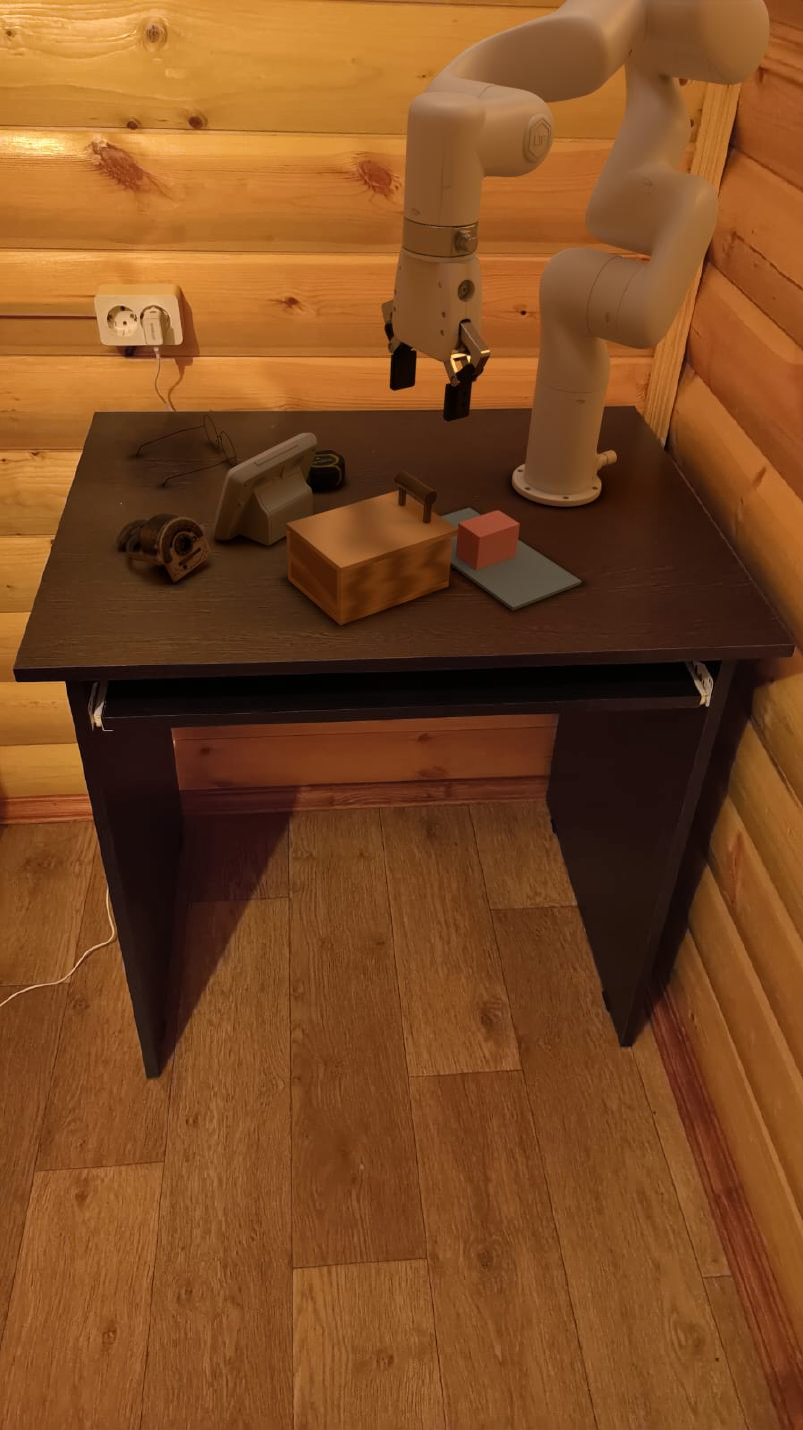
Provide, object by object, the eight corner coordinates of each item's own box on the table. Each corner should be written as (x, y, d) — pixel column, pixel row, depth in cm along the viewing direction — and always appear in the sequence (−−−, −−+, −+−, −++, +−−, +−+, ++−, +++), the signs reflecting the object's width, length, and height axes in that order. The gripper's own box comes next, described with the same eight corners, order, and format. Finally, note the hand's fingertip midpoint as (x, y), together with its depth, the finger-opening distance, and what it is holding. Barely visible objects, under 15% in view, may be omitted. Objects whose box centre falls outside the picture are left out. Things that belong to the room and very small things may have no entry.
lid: (400, 495, 127) (402, 457, 123) (458, 535, 120) (461, 496, 116) (286, 529, 119) (284, 489, 116) (340, 573, 112) (340, 533, 109)
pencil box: (393, 545, 131) (395, 496, 126) (448, 586, 123) (452, 537, 119) (287, 579, 123) (286, 529, 119) (340, 625, 116) (340, 574, 112)
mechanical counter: (127, 555, 116) (209, 522, 118) (96, 497, 123) (173, 466, 126) (146, 601, 121) (224, 569, 123) (115, 542, 129) (189, 513, 131)
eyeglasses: (164, 490, 139) (160, 455, 136) (133, 453, 148) (129, 420, 144) (240, 474, 144) (238, 440, 141) (206, 439, 152) (204, 407, 149)
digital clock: (296, 493, 140) (294, 419, 133) (339, 518, 135) (339, 443, 129) (197, 530, 131) (189, 453, 125) (239, 559, 126) (233, 480, 120)
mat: (469, 510, 139) (469, 507, 138) (581, 584, 125) (581, 580, 125) (403, 531, 133) (403, 528, 133) (512, 610, 120) (513, 607, 120)
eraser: (494, 541, 131) (498, 509, 128) (515, 556, 129) (520, 523, 126) (455, 555, 128) (458, 522, 125) (476, 570, 126) (479, 537, 123)
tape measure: (334, 468, 147) (334, 444, 144) (352, 489, 142) (352, 464, 140) (289, 475, 144) (288, 450, 142) (305, 497, 140) (305, 471, 137)
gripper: (524, 254, 99) (505, 423, 110) (417, 213, 109) (408, 371, 120) (465, 264, 95) (450, 438, 106) (359, 220, 106) (356, 383, 117)
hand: (428, 402), depth 113 cm, fingers open, 9 cm apart
